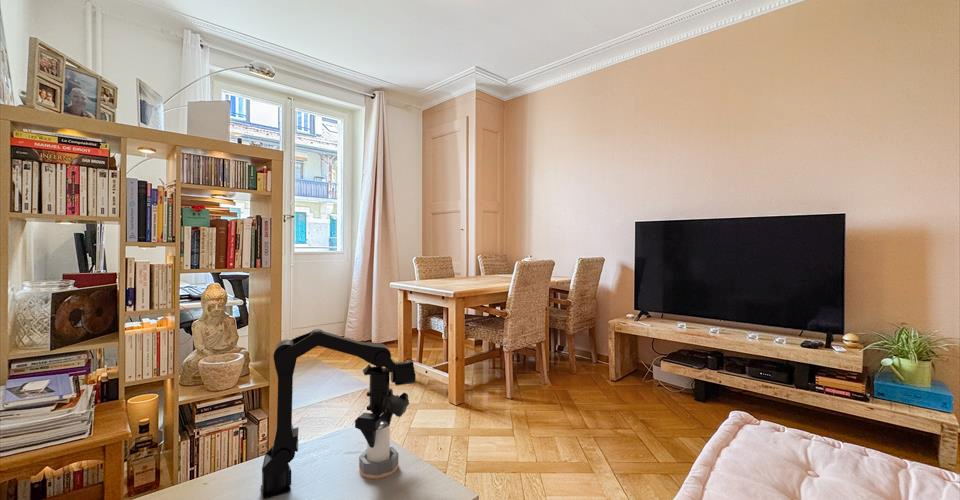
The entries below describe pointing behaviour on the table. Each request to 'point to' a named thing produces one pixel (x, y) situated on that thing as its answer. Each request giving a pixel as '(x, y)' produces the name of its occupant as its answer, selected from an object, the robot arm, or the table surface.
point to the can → (380, 445)
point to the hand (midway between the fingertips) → (379, 439)
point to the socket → (378, 466)
